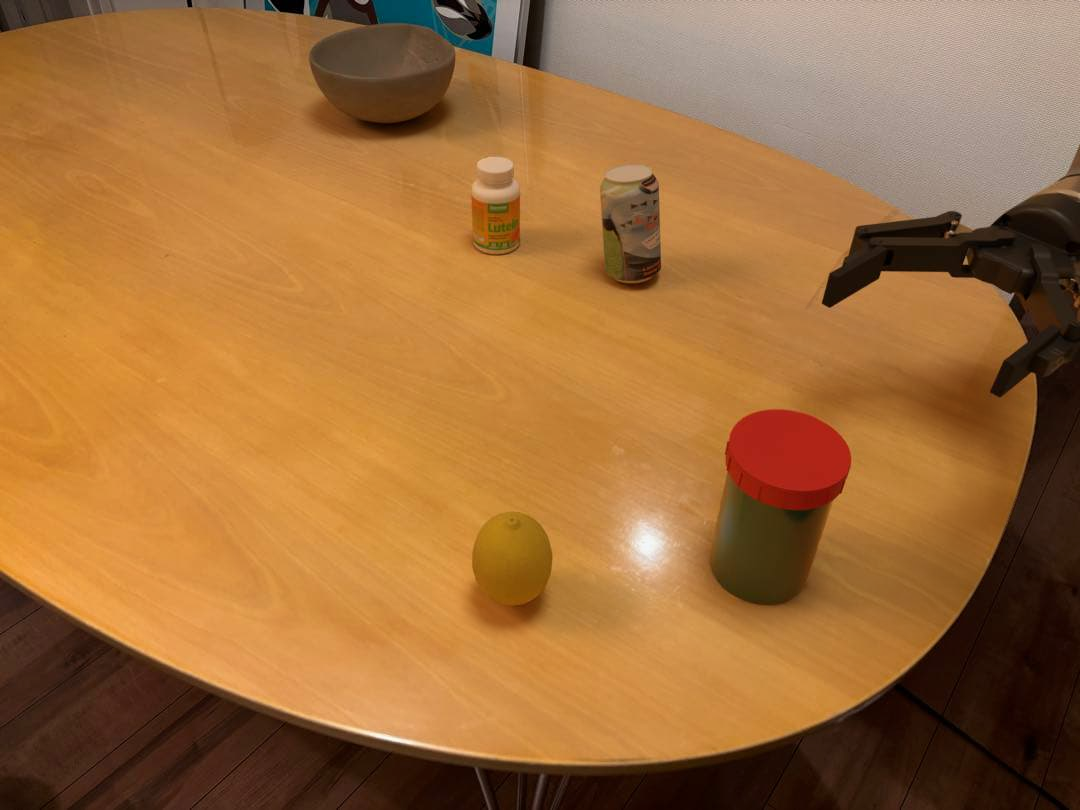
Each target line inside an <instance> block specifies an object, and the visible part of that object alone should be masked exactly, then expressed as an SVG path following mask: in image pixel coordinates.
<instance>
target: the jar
mask: <svg viewBox="0 0 1080 810" xmlns="http://www.w3.org/2000/svg"><path fill="white" fill-rule="evenodd" d="M833 503H834V500H833V501H831V502H830V503H828V504H827V505H824V506H821V507H818V508H814V509H809V510H788V509H782V508H777V507H773V506H770V505H767V504H765V503H762V502H760V501H758V500H756V499H754V498H752V497H751V496H749V495H748V494H746V493H745V492H744V491H742V490H741V489H740V488H739V487H738V486H737V485H736V484H735V482H734V481H733V480H732V478H731V477H730V475H729V473H728V471H726V477H725V482H724V487H723V491H722V495H721V500H720V506H719V510H718V514H717V519H716V524H715V527H714V533H713V537H712V543H711V547H710V553H709V566H710V570H711V573H713V574H712V575H713V576H714V578H715V579H716V580H717V582H718V584H719V585H720V586H721V587H723V589H724V590H726V591H727V592H728V593H730V594H731V595H733V596H735V597H736V598H738V599H741V600H743V601H745V602H748V603H752V604H757V605H765V606H766V605H778V604H779V605H780V604H783V603H786V602H788V601H791V600H792V599H794V598H796V597H797V596H798V595H799V594H800V593H801V592H803V590H804V588H805V586H806V584H807V582H808V579H809V575H810V573H811V570H812V567H813V564H814V560H815V558H816V555H817V552H818V549H819V545H820V542H821V539H822V537H823V533H824V530H825V527H826V524H827V521H828V518H829V515H830V512H831V509H832V506H833Z"/></svg>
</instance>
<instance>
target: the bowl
mask: <svg viewBox="0 0 1080 810" xmlns="http://www.w3.org/2000/svg"><path fill="white" fill-rule="evenodd" d="M456 55H457V54H456V49H455V46H454V45H453V43H452V42H450V41H449V40H447V39H446V38H444V37H443V36H442V35H441V34H439V33H437V32H435V30H434V29H432V28H430V27H427V26H422V25H419V24H411V23H400V22H398V23H397V22H395V23H394V22H391V23H390V22H389V23H377V24H369V25H363V26H357V27H353V28H349V29H345V30H343V31H340V32H336V33H334V34H330V35H329V36H326V37H324V38H323V39H321V40H319V41H317V43H315V44H314V45H313V46H312V48H311V49H310V51H309V53H308V60H309V61H308V62H309V66H310V71H311V74H312V76H313V78H314V81H315V83H316V84H317V86H318V88H319V90H320V91H321V93H322V95H323V96H324V97H325V99H326V100H327V101H328V102H329V103H330V104H331V105H332V106H333V107H335V108H336V109H337V110H338V111H340V112H341V113H344V114H345V115H348V116H349V117H352V118H354V119H358V120H361V121H366V122H369V123H378V124H394V123H396V124H397V123H401V122H405V121H409V120H412V119H415V118H417V117H420V116H422V115H423V114H425V113H427V112H429V111H430V110H431V109H433V108H434V107H435V106H437V104H438V103H440V101H441V100H442V99H443V97H444V96H445V95H446V93H447V91H448V89H449V86H450V84H451V82H452V79H453V76H454V71H455V66H456Z"/></svg>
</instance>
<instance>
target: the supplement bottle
mask: <svg viewBox="0 0 1080 810" xmlns="http://www.w3.org/2000/svg"><path fill="white" fill-rule="evenodd" d="M514 176H515V168H514V163H513V161H512V160H510V159H509V158H506V157H504V156H488V157H484V158H482V159H479V160H478V162H476V177H477V178H476V179H475V180H474V182H472V185H471V188H470V189H471V190H470V192H471V193H470V196H471V197H470V198H471V221H472V223H471V224H472V243H473V245H474V247H475V248H476V249H477V250H478V251H480V252H483V253H485V254H489V255H504V254H505V255H506V254H508V253H510V252H513V251H514V250H516V249H517V248H519V245H520V241H521V187H520V184H519V182H518V181H517V180H516V179H514Z"/></svg>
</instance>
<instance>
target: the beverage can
mask: <svg viewBox="0 0 1080 810" xmlns="http://www.w3.org/2000/svg"><path fill="white" fill-rule="evenodd" d="M599 196H600V197H599V198H600V210H601V226H602V228H601V229H602V240H603V241H602V243H603V257H604V270H605V273H606V274H607V275H608V276H609V277H610V278H612V279H614V280H615V281H617V282H619V283H624V284H639V283H643V282H646V281H649V280H651V279H652V278H653V277H654V276H655V275H657V274H658V273H659V272H660V271H661V269H662V253H661V252H662V251H661V250H662V247H661V246H662V245H661V217H660V215H661V211H660V182H659V180H658V178H657V177H656V176H655V174H654V171H653V169H652V167H650V166H648V165H645V164H638V163H637V164H636V163H629V164H628V163H627V164H620V165H616V166H613V167H611V168H609V169H607V170H606V171H605V172H604V177H603V180H602V181H601V183H600V186H599Z"/></svg>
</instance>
